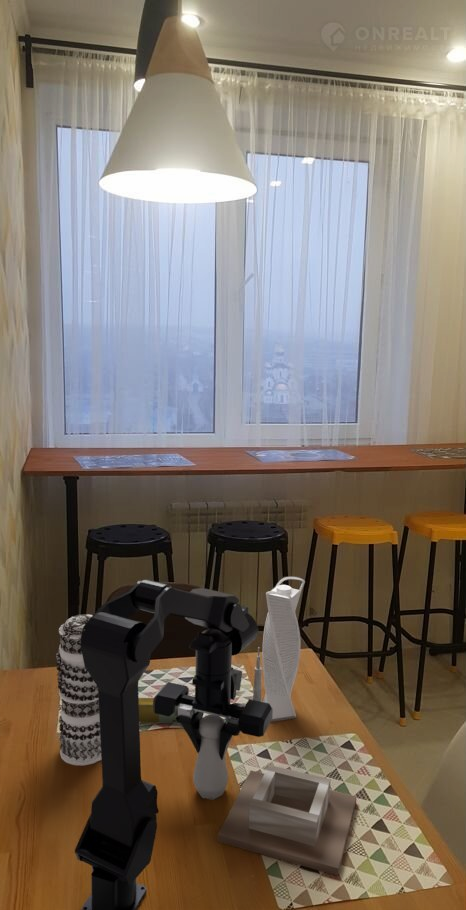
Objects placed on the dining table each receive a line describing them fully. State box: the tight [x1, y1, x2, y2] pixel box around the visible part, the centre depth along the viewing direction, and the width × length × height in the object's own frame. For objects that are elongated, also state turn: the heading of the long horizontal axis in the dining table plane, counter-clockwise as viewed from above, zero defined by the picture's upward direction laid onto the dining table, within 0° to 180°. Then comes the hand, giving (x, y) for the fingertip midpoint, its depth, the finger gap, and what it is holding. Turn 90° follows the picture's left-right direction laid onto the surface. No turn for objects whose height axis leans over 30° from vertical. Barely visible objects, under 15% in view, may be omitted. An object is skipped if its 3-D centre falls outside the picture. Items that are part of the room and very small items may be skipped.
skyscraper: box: [252, 576, 306, 723], centre depth 133 cm, size 8×8×28 cm
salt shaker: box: [192, 714, 229, 800], centre depth 110 cm, size 6×6×13 cm
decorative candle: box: [55, 613, 101, 767], centre depth 119 cm, size 9×9×25 cm
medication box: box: [139, 697, 178, 724], centre depth 132 cm, size 12×3×4 cm, turn 90°
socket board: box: [217, 764, 357, 877], centre depth 105 cm, size 16×18×5 cm
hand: (211, 755), depth 110 cm, fingers closed on salt shaker, 3 cm apart
